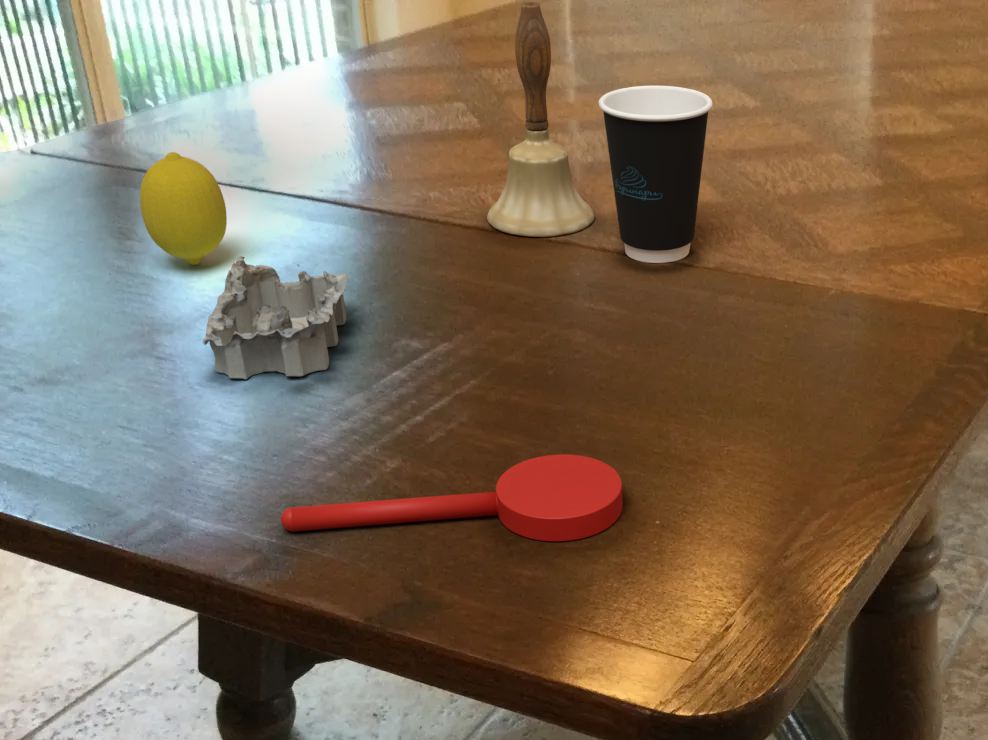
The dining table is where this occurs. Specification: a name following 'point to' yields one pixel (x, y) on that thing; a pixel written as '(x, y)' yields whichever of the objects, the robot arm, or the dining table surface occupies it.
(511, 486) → the red lollipop
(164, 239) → the lemon
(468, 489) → the dining table surface
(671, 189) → the dixie cup
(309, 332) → the egg carton
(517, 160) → the hand bell
